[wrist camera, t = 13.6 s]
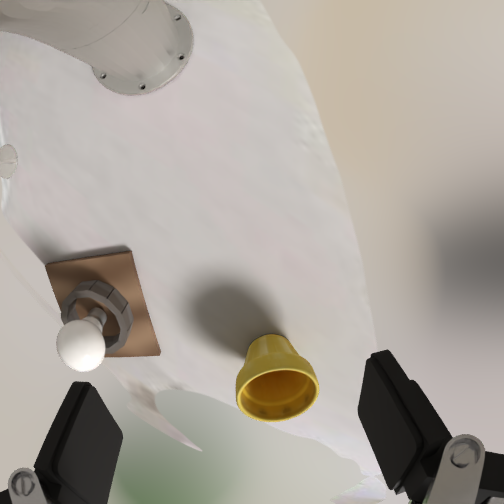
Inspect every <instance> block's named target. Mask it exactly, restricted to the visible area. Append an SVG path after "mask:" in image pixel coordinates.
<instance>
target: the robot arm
mask: <svg viewBox="0 0 504 504" xmlns="http://www.w3.org/2000/svg"><path fill="white" fill-rule="evenodd" d="M178 19H180V20H178ZM177 20H178V21H177ZM0 32H9V33H15V34H19V35H23V36H26V37H29V38H32V39H35V40H37V41H40V42H42V43H44V44H47V45H49V46H51V47H53V48H55V49H57V50H60V51H62V52H64V53H66V54H68V55H70V56H73V57H75V58H77V59H79V60H81V61H83V62H85V63H87V64H89V65H91V66H92V68H93V71H94V74H95V76H96V78H97V79H98V81H99V82H100V83H101V84H102V85H103V86H104V87H106V88H107V89H109V90H111V91H113V92H116V93H118V94H123V95H141V94H147V93H150V92H152V91H155V90H157V89H159V88H161V87H163V86H165V85H166V84H168V83H169V82H170V81H172V80H173V79H174V78H175V77H176V76H177V75H178V74H179V73H180V72H181V71H182V69H183V68H184V66H185V65H186V64H187V62H188V60H189V57H190V55H191V52H192V48H193V33H192V28H191V26H190V23H189V21H188V20H187V18H186V17H185V15H184V14H182V13H181V12H180V11H179V10H178V9H176V8H174V7H172V6H170V5H167V4H165V2H164V0H0ZM181 57H184V59H182V60H180V58H181ZM105 76H106V77H105ZM104 77H105V78H104ZM143 86H145V89H142V87H143ZM358 416H359V418H360V421H361V423H362V426H363V428H364V430H365V433H366V435H367V437H368V440H369V442H370V444H371V447H372V449H373V452H374V454H375V457H376V459H377V461H378V464H379V466H380V469H381V471H382V474H383V476H384V479H385V481H386V484H387V486H388V488H389V489H390V490H393V489H394V491H395V493H396V495H397V494H400V493H402V492H405V491H406V493H407V496H408V498H409V499H410V501H409V503H408V504H504V454H498V453H492V452H487V451H485V448H484V445H483V444H482V442H481V441H480V440H479V439H478V438H476V437H475V436H472V435H469V434H467V435H466V434H462V435H459V436H456V437H454V438H453V437H452V436H451V434H450V433H449V431H448V430H447V428H446V426H445V425H444V423H443V421H442V420H441V418H440V417H439V415H438V414H437V412H436V411H435V409H434V408H433V406H432V404H431V403H430V401H429V400H428V398H427V397H426V395H425V394H424V392H423V391H422V389H421V388H420V386H419V385H418V384H417V383H416V381H414V380H409V379H408V377H407V375H406V374H405V372H404V371H403V369H402V368H401V367H400V365H399V364H398V362H397V361H396V359H395V358H394V356H393V355H392V354H391V352H390V351H389V350H384V351H380V352H376V353H372V354H371V357H370V358H369V359H367V360H366V365H365V372H364V378H363V383H362V389H361V394H360V400H359V405H358ZM122 440H123V434H122V431H121V429H120V428H119V426H118V425H117V423H116V422H115V420H114V419H113V417H112V415H111V414H110V412H109V410H108V409H107V407H106V405H105V404H104V402H103V400H102V399H101V397H100V395H99V394H98V392H97V390H96V388H95V387H93V386H92V385H91V384H90V383H89V382H77V381H76V382H73V383H72V385H71V387H70V389H69V391H68V393H67V395H66V397H65V399H64V401H63V403H62V405H61V407H60V409H59V411H58V413H57V415H56V417H55V419H54V421H53V423H52V425H51V428H50V430H49V432H48V434H47V436H46V439H45V441H44V443H43V445H42V448H41V450H40V452H39V455H38V457H37V459H36V462H35V464H34V468H35V471H34V472H33V471H32V470H31V469H28V468H20V469H17V470H16V471H14V472H13V473H12V474H11V476H10V478H9V481H8V489H7V490H4V491H2V492H0V504H107V502H108V497H109V492H110V489H111V484H112V480H113V476H114V471H115V468H116V463H117V459H118V456H119V452H120V447H121V444H122Z"/></svg>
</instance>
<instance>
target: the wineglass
mask: <svg viewBox="0 0 504 504" xmlns="http://www.w3.org/2000/svg"><path fill="white" fill-rule="evenodd" d="M16 167H17V154H16V151H15V149H14V148H13V147H12V146H11V145H4V146H3V147H1V149H0V176H1V177H2V178H4V179H8V178H10V177H11V176H12V175H13V174H14V172H15V170H16Z"/></svg>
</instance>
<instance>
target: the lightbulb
mask: <svg viewBox="0 0 504 504" xmlns="http://www.w3.org/2000/svg"><path fill="white" fill-rule="evenodd" d="M106 320H107V315H106V313H105V312H104V311H103V310H102V309H100V308H92V309H91V311H90V312H89V314H88V315H87V317H85V318H83V319H82V320H73V321H70V322H68V323H66V324H65V325H64V326H63V327H62V328H61V330H60V331H59V333H58V336H57V342H56V345H57V351H58V354H59V356H60V358H61V360H62V361H63V362H64V364H65V365H67V366H68V367H69V368H71V369H73V370H75V371H79V372H87V371H91V370H93V369H95V368H96V367H98V366H99V365H100V363H101V362H102V360H103V358H104V355H105V341H104V338H103V335H102V328H103V326H104V324H105V322H106Z"/></svg>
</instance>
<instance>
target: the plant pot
mask: <svg viewBox="0 0 504 504" xmlns="http://www.w3.org/2000/svg"><path fill="white" fill-rule="evenodd" d="M318 394H319V384H318V380H317V378H316V375H315V372H314V370H313V368H312V366H311V365H310V363H309V362H308V361H307V360H306V359H304V358H303V357H301V356H299V354H298V353H297V352H296V350H295V349H294V348H293V346H292V345H291V343H290V342H289V341H288V340H287V339H286V338H284V337H283V336H280V335H276V334H268V335H264V336H261V337H259V338H257V339H256V340H255V341H253V342H252V344H251V345H250V346H249V348H248V351H247V355H246V359H245V363H244V366H243V368H242V369H241V370H240V372H239V373H238V376H237V379H236V402H237V405H238V407H239V409H240V410H241V411H242V412H243V413H244V414H245V415H247V416H248V417H250V418H252V419H255V420H259V421H263V422H280V421H285V420H289V419H292V418H294V417H297V416H299V415H301V414H302V413H304V412H305V411H307V410H308V409H309V408H310V407H311V406H312V405H313V404H314V402H315V401H316V399H317V397H318Z"/></svg>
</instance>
